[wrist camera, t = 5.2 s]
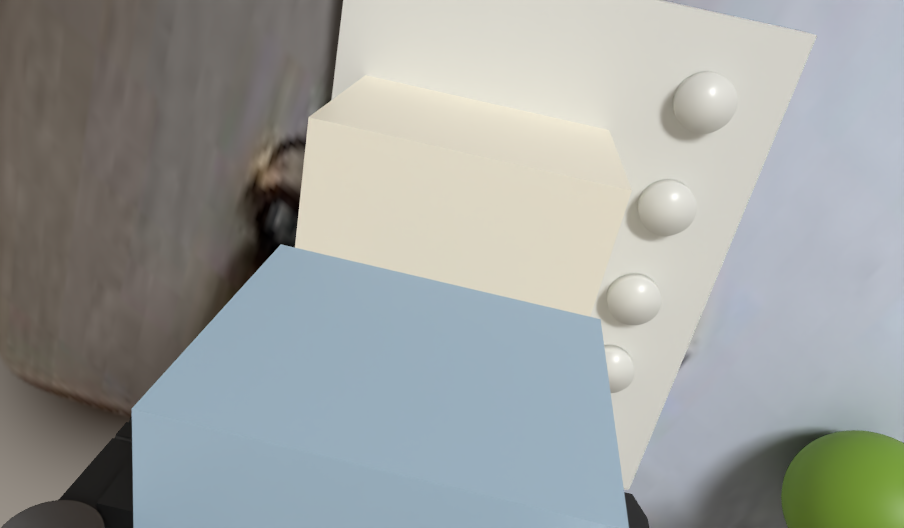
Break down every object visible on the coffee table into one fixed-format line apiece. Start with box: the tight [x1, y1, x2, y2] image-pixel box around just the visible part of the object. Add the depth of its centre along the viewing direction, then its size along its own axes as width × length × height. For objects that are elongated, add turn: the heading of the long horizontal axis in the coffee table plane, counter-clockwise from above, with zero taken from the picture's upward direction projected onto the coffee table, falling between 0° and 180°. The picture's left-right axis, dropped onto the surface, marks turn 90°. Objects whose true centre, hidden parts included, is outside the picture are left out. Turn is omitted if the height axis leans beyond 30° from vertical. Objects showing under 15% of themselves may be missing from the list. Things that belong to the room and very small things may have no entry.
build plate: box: [331, 0, 817, 490], centre depth 24 cm, size 18×14×2 cm
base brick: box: [295, 75, 632, 317], centre depth 21 cm, size 8×8×6 cm
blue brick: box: [132, 244, 629, 528], centre depth 12 cm, size 6×6×5 cm
